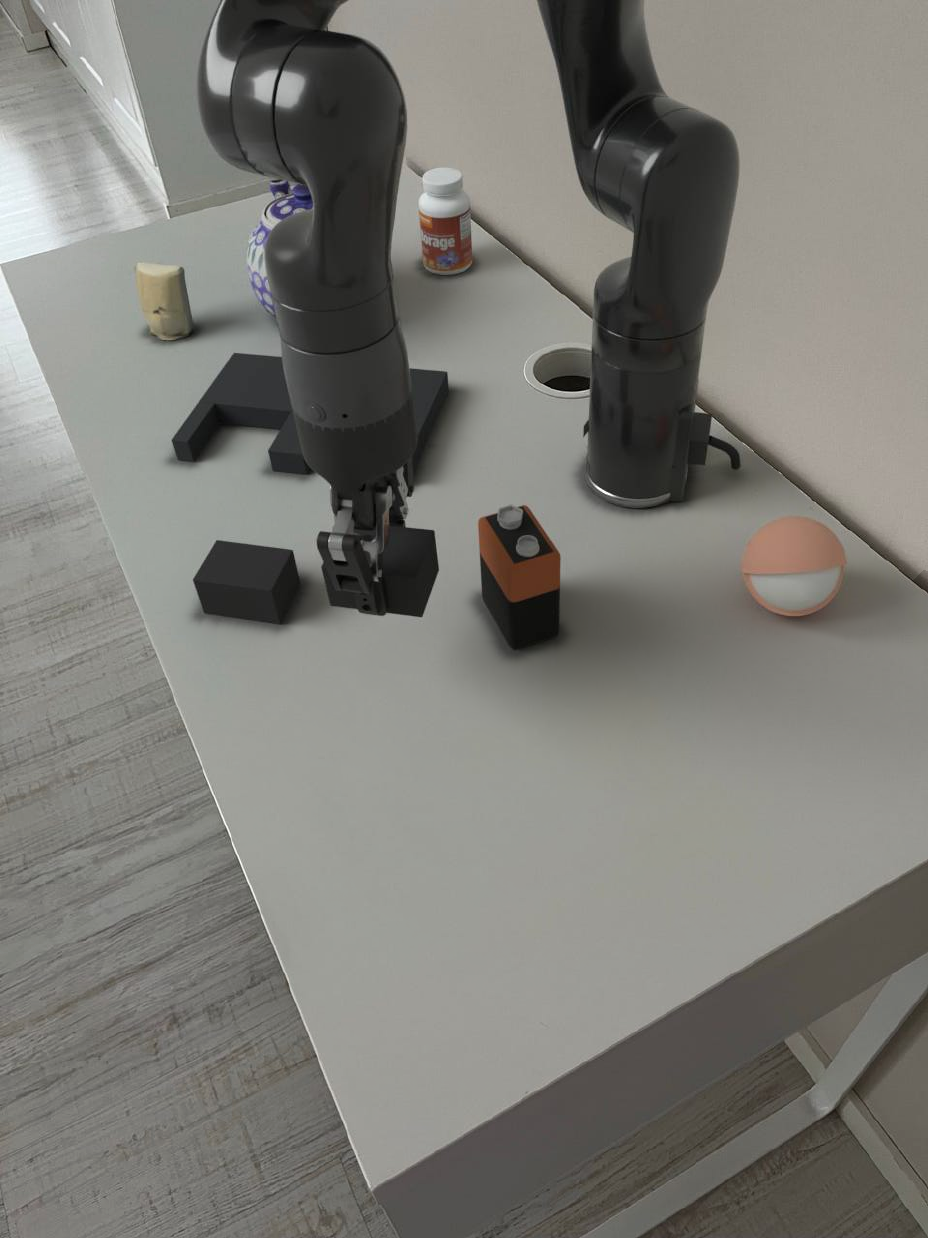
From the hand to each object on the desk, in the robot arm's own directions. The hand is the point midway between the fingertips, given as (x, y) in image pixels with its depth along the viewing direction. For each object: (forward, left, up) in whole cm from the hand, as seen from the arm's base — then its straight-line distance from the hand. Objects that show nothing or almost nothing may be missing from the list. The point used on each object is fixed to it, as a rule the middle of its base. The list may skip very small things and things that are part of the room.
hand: (384, 583), depth 75 cm
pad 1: (+14, -5, -9) cm, 18 cm away
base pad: (+17, -30, -9) cm, 36 cm away
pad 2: (0, 0, 0) cm, 0 cm away
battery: (-9, -7, -9) cm, 14 cm away
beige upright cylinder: (+40, -45, -9) cm, 61 cm away
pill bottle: (+12, -65, -9) cm, 67 cm away
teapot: (+24, -52, -9) cm, 58 cm away
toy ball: (-30, -13, -9) cm, 34 cm away
